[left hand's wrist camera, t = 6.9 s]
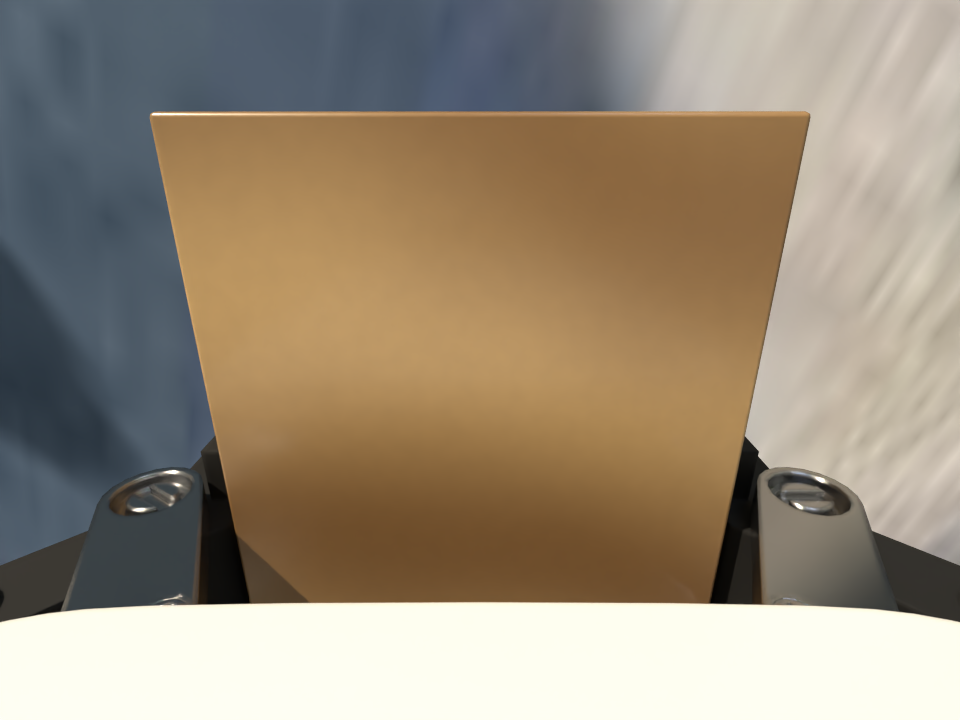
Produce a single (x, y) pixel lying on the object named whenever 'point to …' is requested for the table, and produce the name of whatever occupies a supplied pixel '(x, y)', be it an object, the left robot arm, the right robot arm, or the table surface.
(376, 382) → the post
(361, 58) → the table surface
